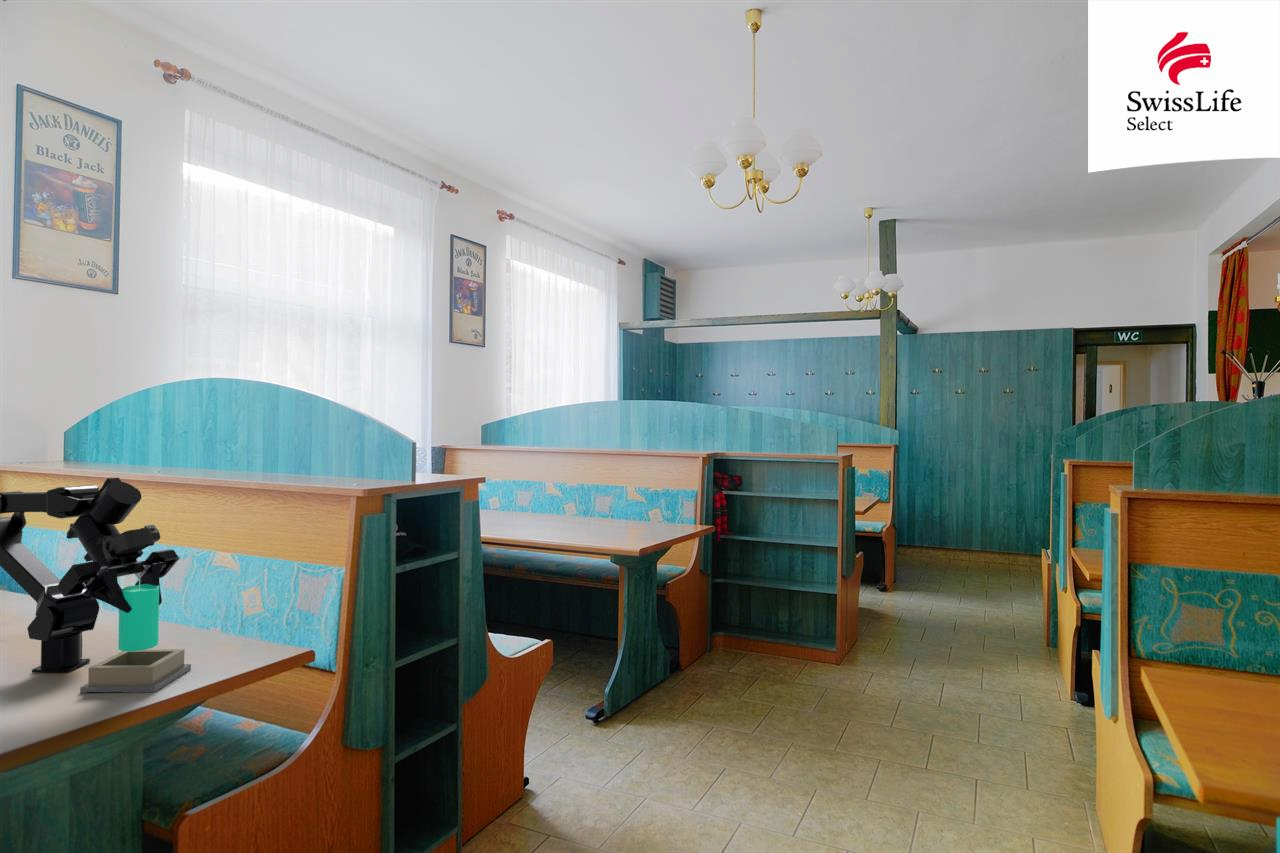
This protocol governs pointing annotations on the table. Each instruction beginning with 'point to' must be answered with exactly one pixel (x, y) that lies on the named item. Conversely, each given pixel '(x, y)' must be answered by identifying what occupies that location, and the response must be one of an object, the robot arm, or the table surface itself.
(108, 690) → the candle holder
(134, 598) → the candle
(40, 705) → the table surface
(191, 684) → the table surface
